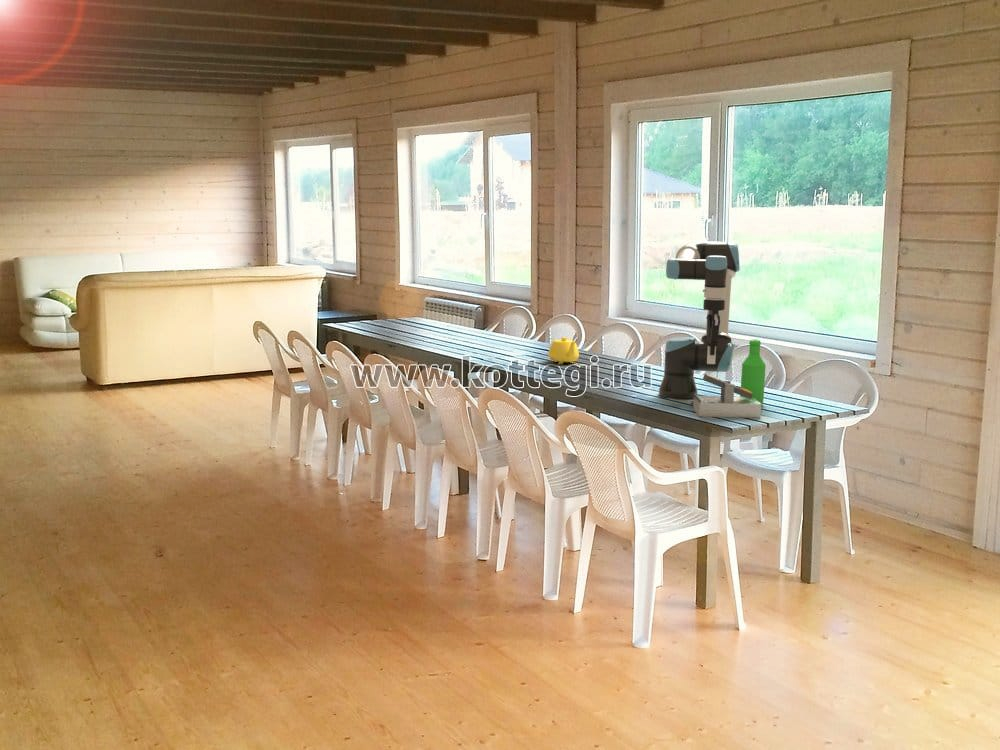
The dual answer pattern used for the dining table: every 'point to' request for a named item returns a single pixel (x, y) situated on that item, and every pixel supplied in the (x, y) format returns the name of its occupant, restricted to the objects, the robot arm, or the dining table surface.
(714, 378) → the rocker
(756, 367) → the bottle
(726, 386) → the grey seesaw stand
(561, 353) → the teapot
